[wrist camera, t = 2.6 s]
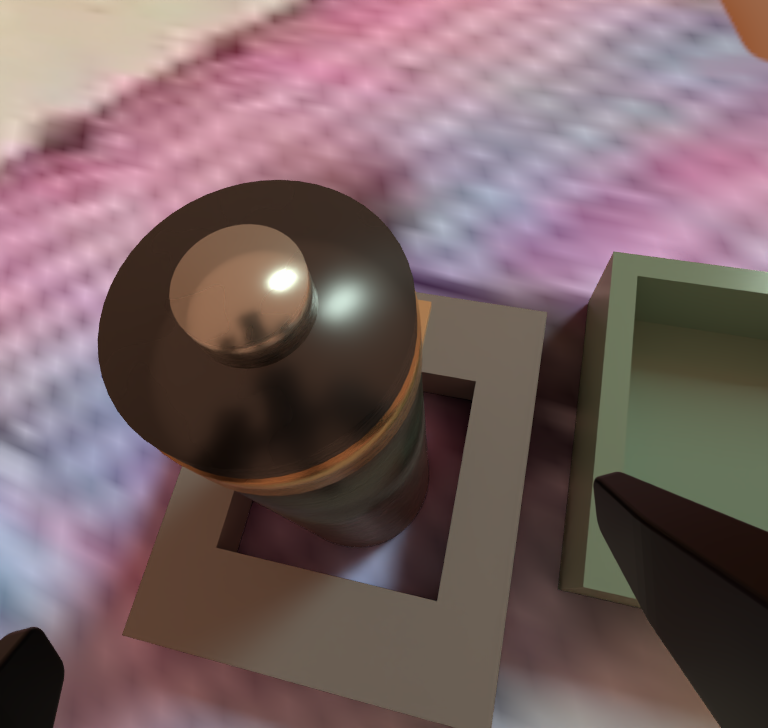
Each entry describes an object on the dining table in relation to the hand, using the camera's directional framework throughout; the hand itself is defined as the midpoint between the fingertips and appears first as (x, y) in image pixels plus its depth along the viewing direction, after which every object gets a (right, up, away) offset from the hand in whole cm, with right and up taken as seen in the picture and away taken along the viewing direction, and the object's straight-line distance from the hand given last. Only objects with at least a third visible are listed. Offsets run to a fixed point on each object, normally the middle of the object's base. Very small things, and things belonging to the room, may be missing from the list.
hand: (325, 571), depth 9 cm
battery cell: (0, -1, +11) cm, 11 cm away
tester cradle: (0, -1, +11) cm, 11 cm away
